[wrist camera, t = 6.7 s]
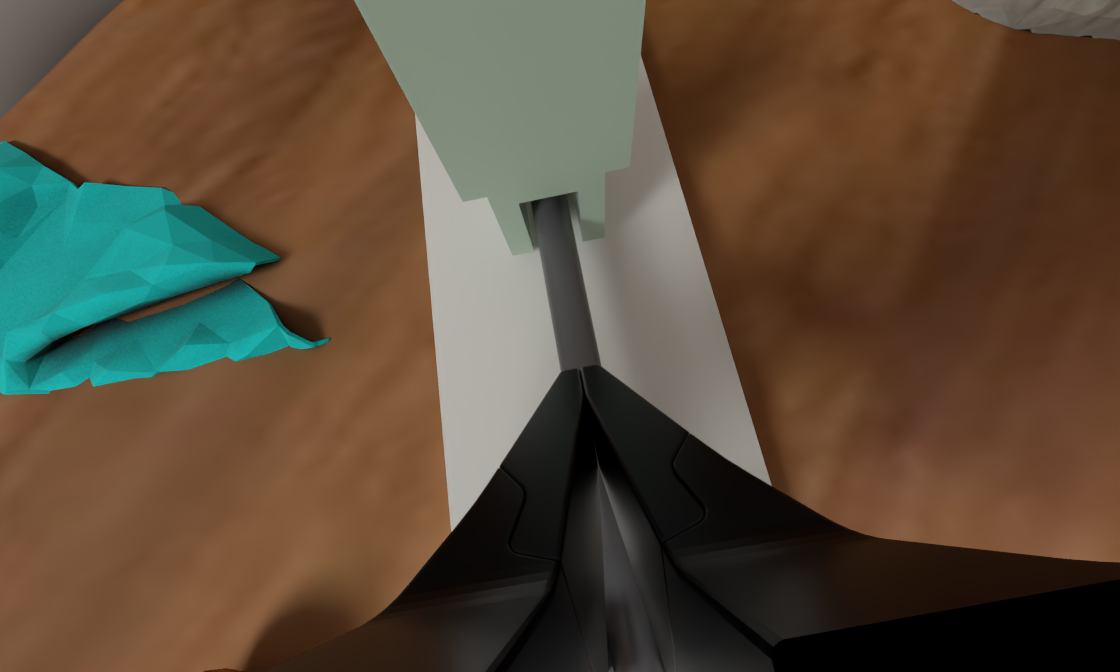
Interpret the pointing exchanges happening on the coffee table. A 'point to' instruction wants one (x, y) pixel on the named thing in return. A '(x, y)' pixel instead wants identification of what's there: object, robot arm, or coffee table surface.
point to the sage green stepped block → (519, 96)
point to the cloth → (118, 283)
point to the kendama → (223, 670)
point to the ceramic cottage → (1052, 16)
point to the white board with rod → (579, 334)
